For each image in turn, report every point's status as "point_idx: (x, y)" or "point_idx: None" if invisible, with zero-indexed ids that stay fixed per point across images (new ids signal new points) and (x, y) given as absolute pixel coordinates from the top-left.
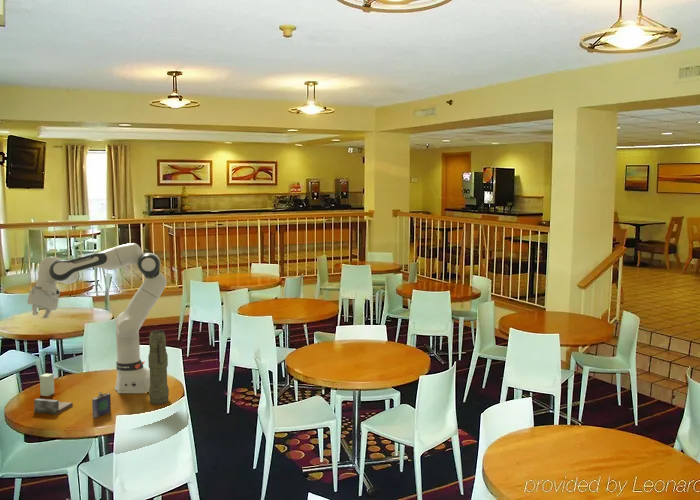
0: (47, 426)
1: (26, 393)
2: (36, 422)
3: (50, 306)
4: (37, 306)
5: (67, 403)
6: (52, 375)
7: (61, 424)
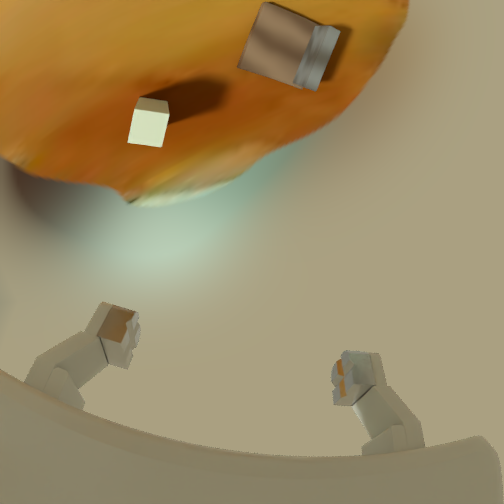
0: (382, 39)
1: (143, 177)
2: (359, 64)
3: (68, 442)
4: (402, 440)
5: (269, 13)
6: (141, 109)
7: (377, 13)
